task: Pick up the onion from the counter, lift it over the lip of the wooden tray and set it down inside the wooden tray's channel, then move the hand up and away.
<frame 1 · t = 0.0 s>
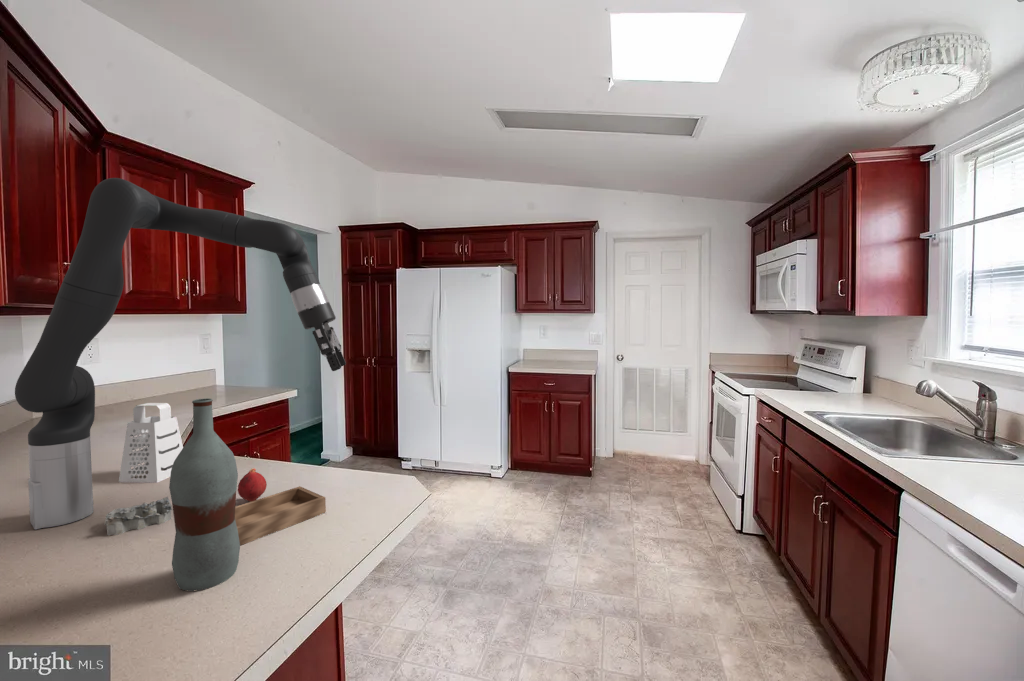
hand: (339, 367, 106), 31 cm above the countertop, tool tilted 20°, fingers open, 8 cm apart
wooden tray: (267, 522, 91), on the countertop
onion: (252, 502, 102), on the countertop
grater: (154, 476, 119), on the countertop
bottle: (208, 577, 72), on the countertop
egg carton: (139, 525, 91), on the countertop
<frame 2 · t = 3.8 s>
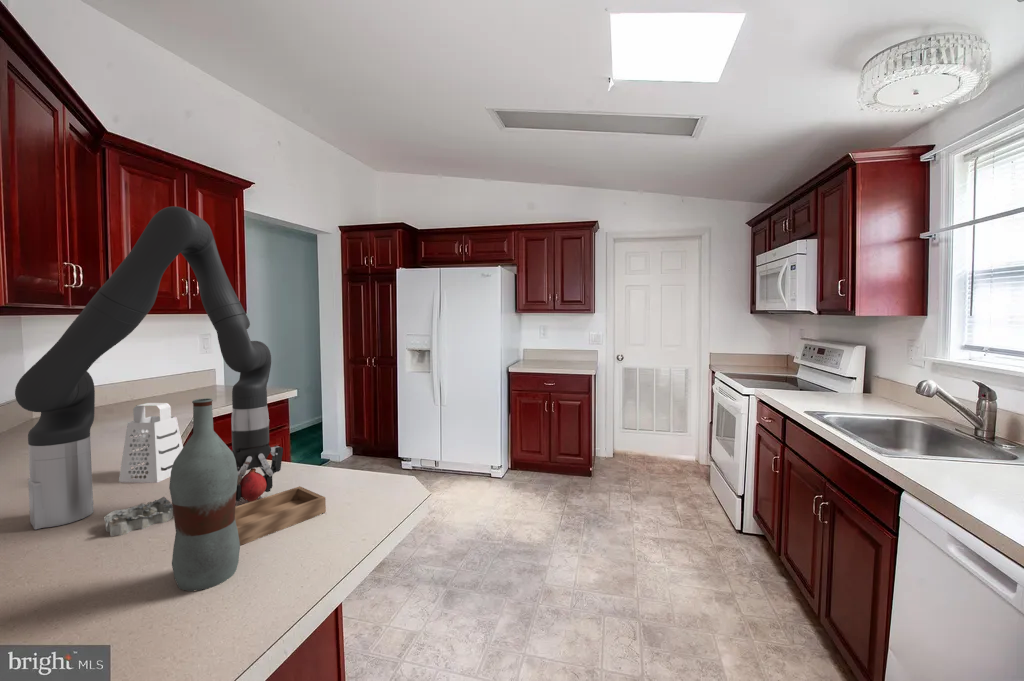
hand: (252, 495, 102), 2 cm above the countertop, tool pointing down, fingers closed on onion, 6 cm apart
onion: (252, 502, 102), on the countertop, touching gripper
when the fingers open (4 cm above the countertop, at t = 10.0 s): onion drops 1 cm, resting on wooden tray.
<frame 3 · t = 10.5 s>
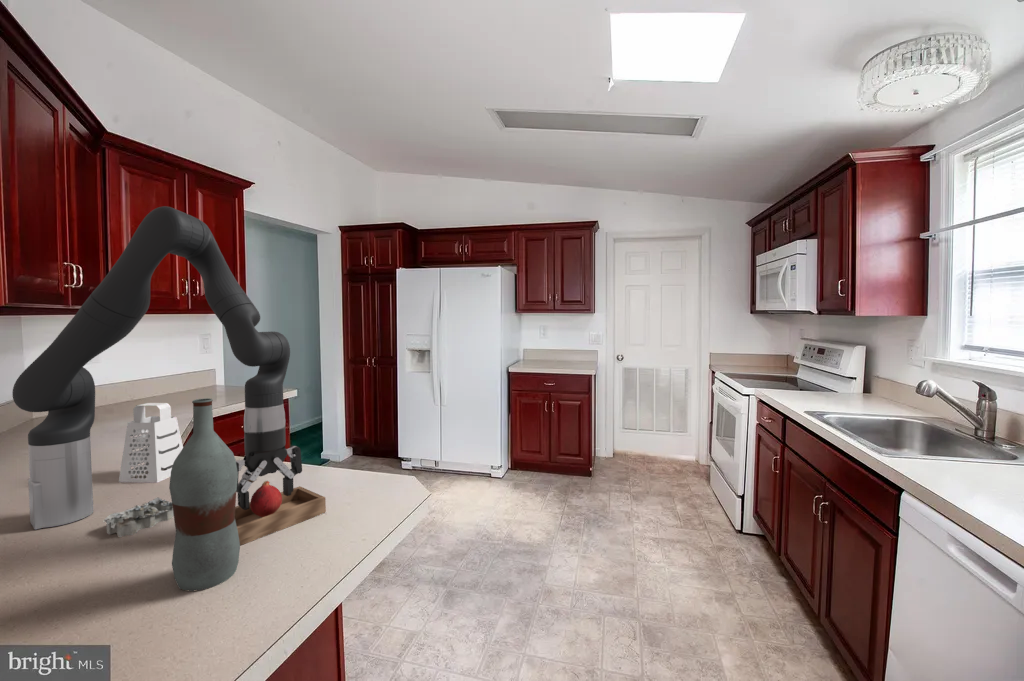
hand: (266, 501, 91), 5 cm above the countertop, tool pointing down, fingers open, 8 cm apart
onion: (267, 518, 91), point 1 cm above the countertop, touching wooden tray
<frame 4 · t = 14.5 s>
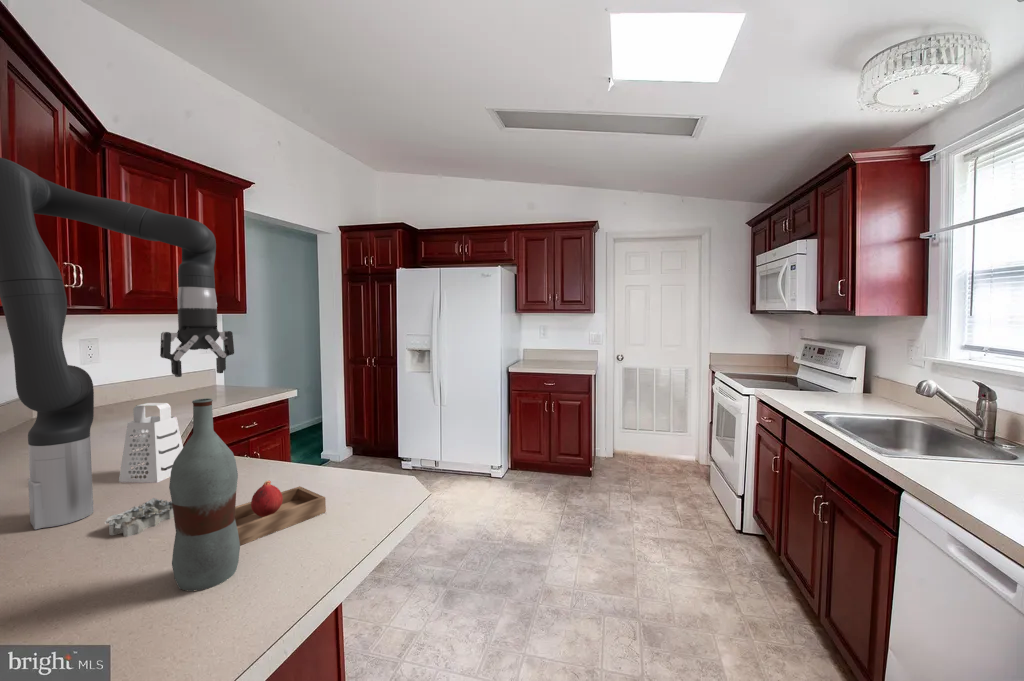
hand: (199, 374, 103), 30 cm above the countertop, tool pointing down, fingers open, 8 cm apart
at the end: onion inside the target area on the wooden tray (0.1 cm from its centre), point 0.8 cm above the wooden tray's base; onion touching wooden tray; the gripper is holding nothing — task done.
